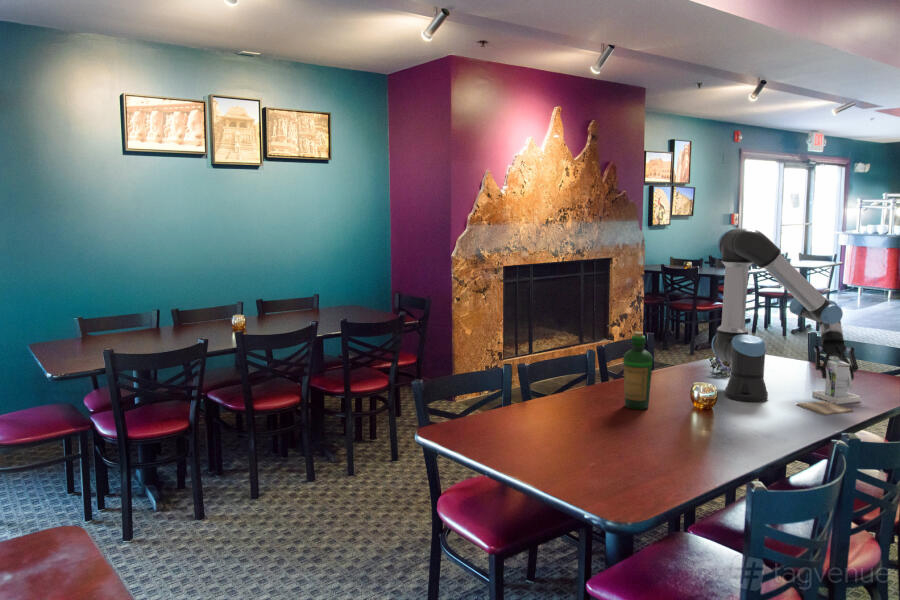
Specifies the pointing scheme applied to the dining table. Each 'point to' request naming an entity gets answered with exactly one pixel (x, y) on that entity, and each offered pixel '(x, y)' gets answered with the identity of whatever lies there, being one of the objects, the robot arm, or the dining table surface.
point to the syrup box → (837, 379)
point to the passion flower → (720, 365)
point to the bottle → (637, 374)
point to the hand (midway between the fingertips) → (839, 386)
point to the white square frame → (848, 399)
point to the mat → (825, 407)
